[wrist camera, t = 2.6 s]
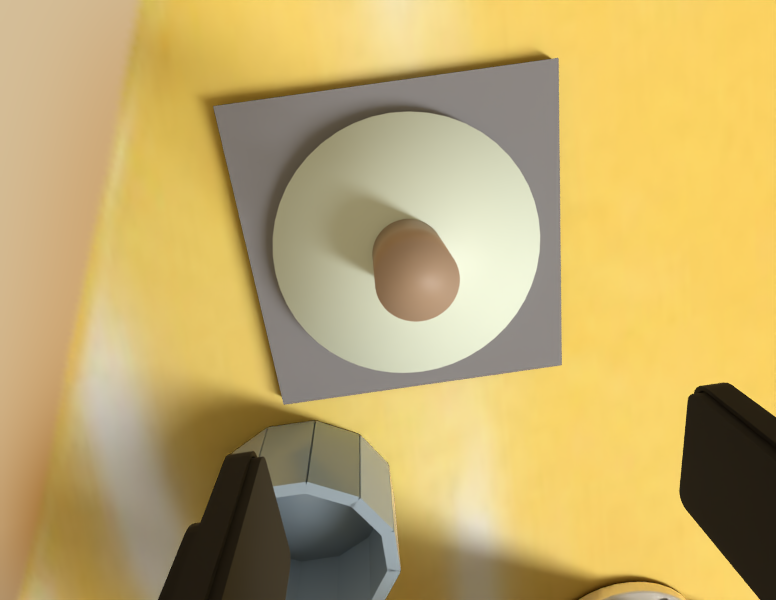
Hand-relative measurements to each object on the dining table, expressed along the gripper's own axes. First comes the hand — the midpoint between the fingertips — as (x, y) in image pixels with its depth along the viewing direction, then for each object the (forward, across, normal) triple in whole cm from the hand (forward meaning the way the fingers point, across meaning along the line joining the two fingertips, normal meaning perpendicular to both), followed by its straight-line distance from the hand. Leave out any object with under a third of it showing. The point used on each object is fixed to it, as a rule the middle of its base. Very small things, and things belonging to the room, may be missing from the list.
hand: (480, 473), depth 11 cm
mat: (+20, 0, 0) cm, 20 cm away
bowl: (+20, +9, +17) cm, 28 cm away
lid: (+19, 0, 0) cm, 19 cm away
